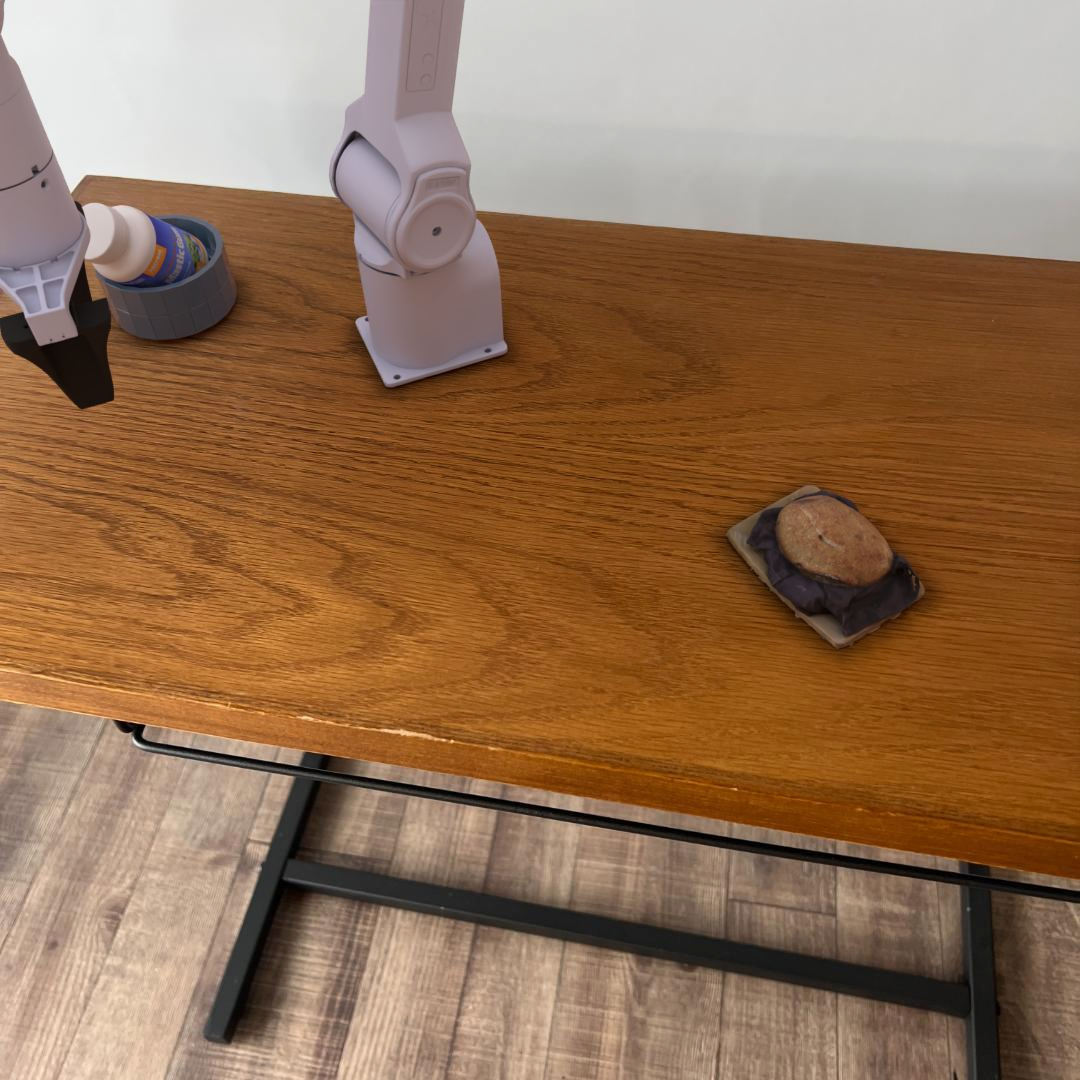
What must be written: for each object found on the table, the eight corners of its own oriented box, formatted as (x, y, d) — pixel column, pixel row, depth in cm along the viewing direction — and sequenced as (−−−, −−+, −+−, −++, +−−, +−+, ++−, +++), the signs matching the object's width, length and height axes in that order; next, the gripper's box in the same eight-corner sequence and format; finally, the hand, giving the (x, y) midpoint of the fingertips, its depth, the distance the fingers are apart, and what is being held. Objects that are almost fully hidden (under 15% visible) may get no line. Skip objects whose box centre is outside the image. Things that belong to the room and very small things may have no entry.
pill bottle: (210, 301, 83) (123, 268, 73) (151, 304, 84) (59, 273, 75) (212, 230, 83) (125, 188, 73) (153, 235, 84) (61, 195, 75)
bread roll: (716, 540, 69) (722, 502, 66) (817, 485, 71) (827, 446, 68) (830, 658, 63) (842, 622, 60) (935, 593, 66) (952, 556, 63)
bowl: (223, 256, 88) (207, 202, 84) (250, 325, 83) (235, 271, 79) (106, 286, 86) (85, 232, 82) (126, 358, 80) (104, 305, 77)
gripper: (-93, 111, 59) (7, 309, 70) (-78, 261, 50) (33, 460, 61) (40, 83, 61) (118, 280, 71) (76, 223, 52) (158, 424, 63)
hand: (87, 361), depth 66 cm, fingers open, 7 cm apart
